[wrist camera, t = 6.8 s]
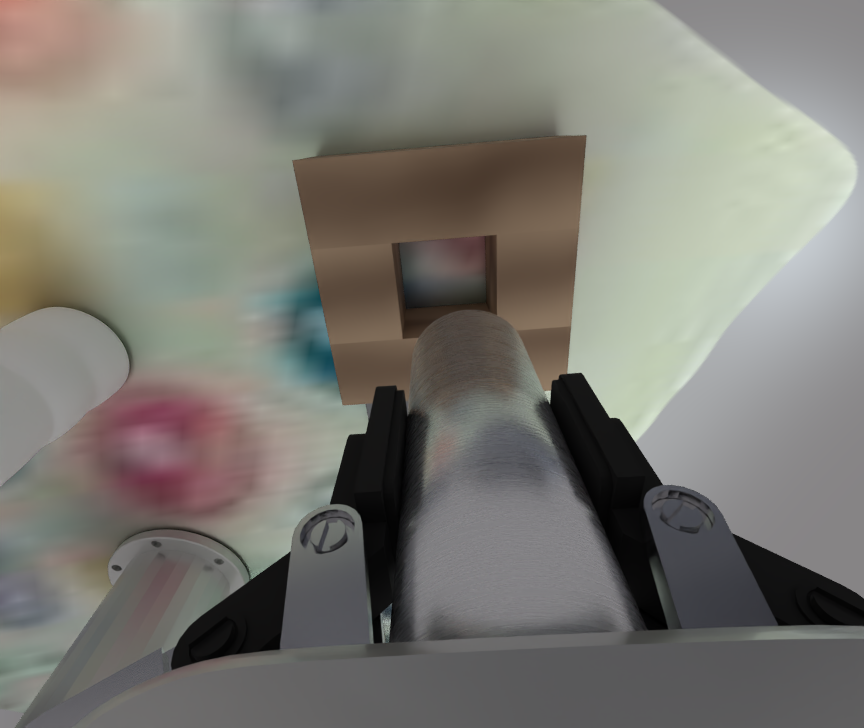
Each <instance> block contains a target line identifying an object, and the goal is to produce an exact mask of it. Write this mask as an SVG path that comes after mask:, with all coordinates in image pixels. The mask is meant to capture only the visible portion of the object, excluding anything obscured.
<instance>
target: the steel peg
mask: <svg viewBox="0 0 864 728" xmlns="http://www.w3.org/2000/svg"><path fill="white" fill-rule="evenodd" d="M625 631H648V629H647V627H646V625H645V622H644V620H643V618H642V616H641V613H640V611H639V609H638V606H637V604H636V602H635V599H634V597H633V595H632V593H631V590H630V588H629V586H628V583H627V581H626V579H625V576H624V574H623V572H622V570H621V567H620V565H619V563H618V560H617V558H616V556H615V553H614V551H613V549H612V546H611V544H610V542H609V540H608V537H607V535H606V533H605V530H604V528H603V526H602V523H601V521H600V519H599V517H598V514H597V512H596V510H595V507H594V505H593V503H592V500H591V498H590V496H589V494H588V491H587V489H586V487H585V484H584V482H583V480H582V477H581V475H580V473H579V471H578V468H577V466H576V464H575V461H574V459H573V457H572V454H571V452H570V450H569V448H568V445H567V443H566V441H565V438H564V436H563V434H562V431H561V429H560V427H559V425H558V422H557V420H556V418H555V415H554V413H553V411H552V408H551V406H550V404H549V402H548V399H547V397H546V395H545V392H544V390H543V388H542V385H541V383H540V381H539V379H538V376H537V374H536V372H535V369H534V367H533V365H532V362H531V360H530V358H529V356H528V353H527V351H526V349H525V346H524V344H523V342H522V339H521V338H520V336H519V334H518V332H517V331H516V330H515V329H514V327H513V326H512V325H511V324H510V323H508V322H507V321H506V320H504V319H503V318H501V317H499V316H497V315H495V314H492V313H490V312H486V311H481V310H461V311H456V312H452V313H449V314H447V315H444V316H442V317H440V318H439V319H437V320H435V321H434V322H433V323H431V324H430V325H429V326H428V327H427V328H426V329H425V330H424V331H423V332H422V334H421V335H420V337H419V338H418V340H417V342H416V344H415V347H414V350H413V355H412V365H411V377H410V390H409V402H408V418H407V430H406V443H405V455H404V468H403V481H402V493H401V506H400V518H399V530H398V539H397V551H396V564H395V576H394V589H393V601H392V614H391V626H390V639H389V643H396V642H415V641H434V640H453V639H473V638H494V637H515V636H536V635H558V634H580V633H602V632H625Z"/></svg>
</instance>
